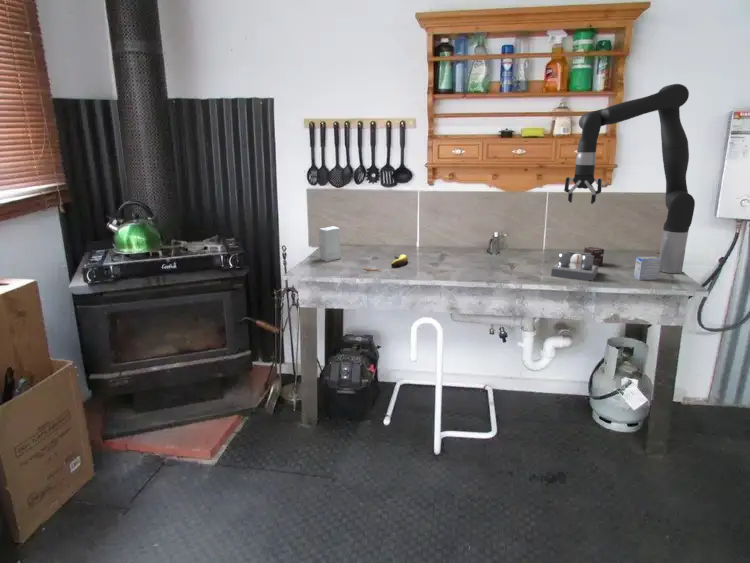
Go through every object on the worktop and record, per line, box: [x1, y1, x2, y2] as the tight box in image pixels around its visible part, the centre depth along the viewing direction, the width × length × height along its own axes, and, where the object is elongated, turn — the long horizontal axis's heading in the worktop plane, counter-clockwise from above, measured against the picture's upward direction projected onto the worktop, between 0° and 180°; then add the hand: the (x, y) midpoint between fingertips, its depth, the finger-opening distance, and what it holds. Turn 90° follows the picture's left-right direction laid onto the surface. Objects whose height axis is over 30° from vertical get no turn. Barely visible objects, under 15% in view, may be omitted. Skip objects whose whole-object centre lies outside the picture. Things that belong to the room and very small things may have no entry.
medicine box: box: [633, 256, 661, 281], centre depth 211 cm, size 8×4×9 cm, turn 92°
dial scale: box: [550, 250, 599, 282], centre depth 217 cm, size 16×14×8 cm
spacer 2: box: [581, 255, 594, 269], centre depth 213 cm, size 4×4×5 cm
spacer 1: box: [557, 252, 570, 267], centre depth 217 cm, size 4×4×5 cm
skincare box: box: [318, 225, 342, 262], centre depth 243 cm, size 8×6×15 cm
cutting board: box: [363, 254, 426, 273], centre depth 238 cm, size 35×27×4 cm
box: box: [583, 246, 605, 267], centre depth 233 cm, size 6×6×7 cm
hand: (581, 203), depth 221 cm, fingers open, 8 cm apart
